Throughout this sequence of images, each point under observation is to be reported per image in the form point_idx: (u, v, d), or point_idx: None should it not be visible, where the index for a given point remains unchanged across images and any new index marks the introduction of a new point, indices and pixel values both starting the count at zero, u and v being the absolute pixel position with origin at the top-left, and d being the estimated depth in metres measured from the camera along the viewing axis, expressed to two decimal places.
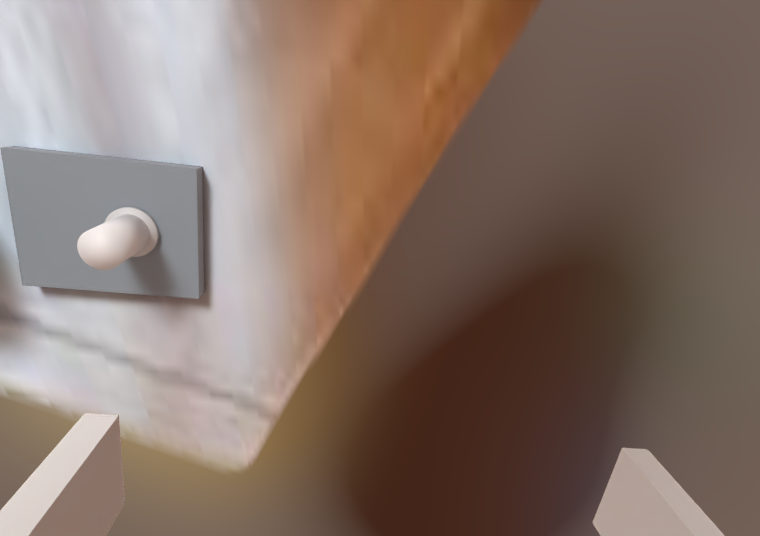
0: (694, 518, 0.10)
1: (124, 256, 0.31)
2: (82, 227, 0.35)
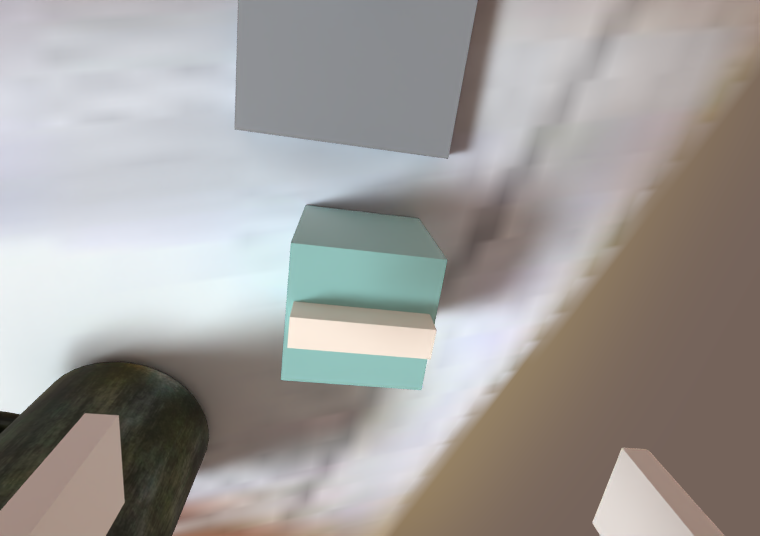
0: (694, 518, 0.10)
1: None
2: (358, 32, 0.21)
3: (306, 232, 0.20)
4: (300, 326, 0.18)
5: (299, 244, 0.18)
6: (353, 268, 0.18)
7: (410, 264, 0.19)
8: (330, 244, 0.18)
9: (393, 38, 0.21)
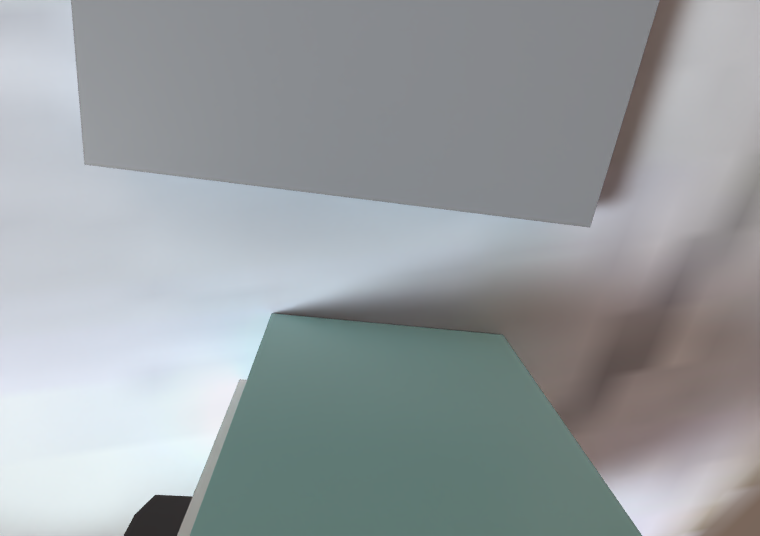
0: None
1: None
2: None
3: (243, 481, 0.07)
4: None
5: None
6: None
7: None
8: None
9: None
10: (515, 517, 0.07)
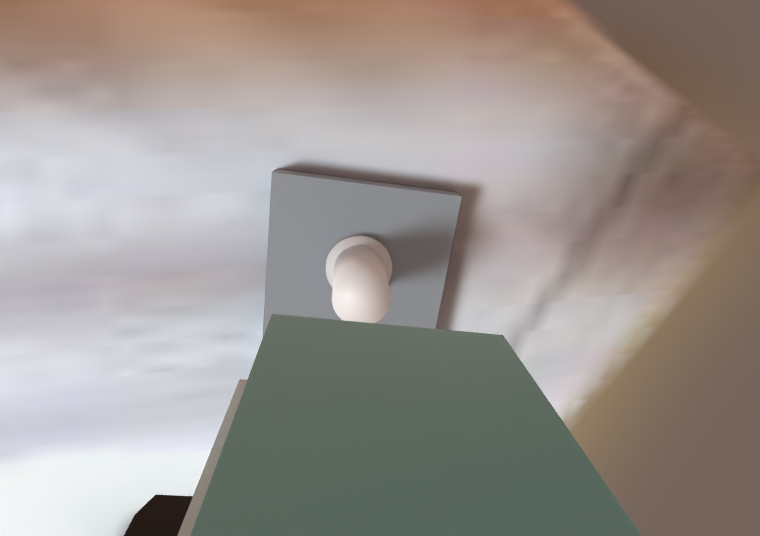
0: None
1: (374, 271, 0.22)
2: None
3: (244, 481, 0.07)
4: None
5: None
6: None
7: None
8: None
9: None
10: (515, 518, 0.07)
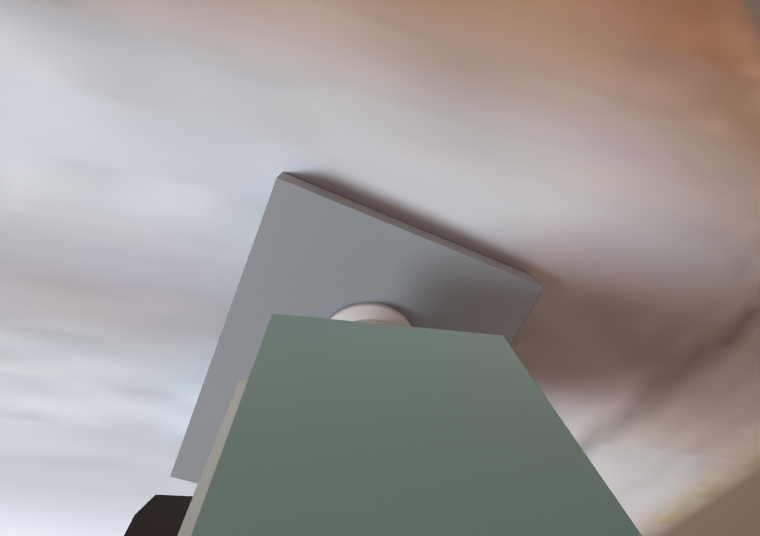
0: None
1: None
2: None
3: (244, 480, 0.07)
4: None
5: None
6: None
7: None
8: None
9: None
10: (516, 518, 0.07)
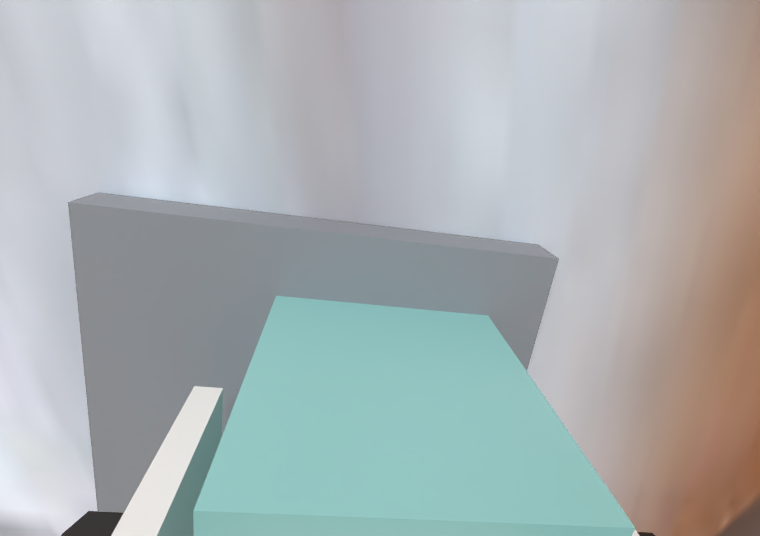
0: None
1: None
2: None
3: (254, 425, 0.08)
4: None
5: (219, 513, 0.06)
6: None
7: None
8: (311, 496, 0.07)
9: None
10: (487, 456, 0.08)
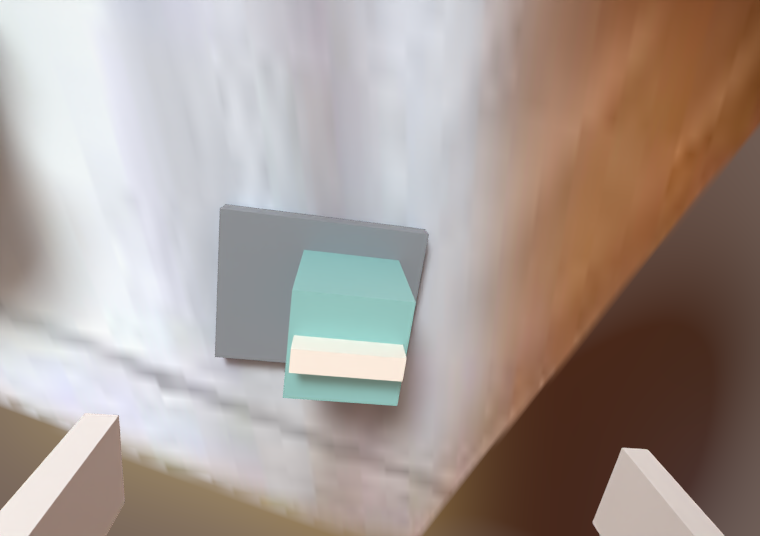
0: (694, 518, 0.10)
1: None
2: None
3: (304, 279, 0.24)
4: (299, 356, 0.22)
5: (298, 291, 0.23)
6: (341, 309, 0.23)
7: (386, 306, 0.23)
8: (323, 290, 0.23)
9: None
10: (378, 289, 0.25)
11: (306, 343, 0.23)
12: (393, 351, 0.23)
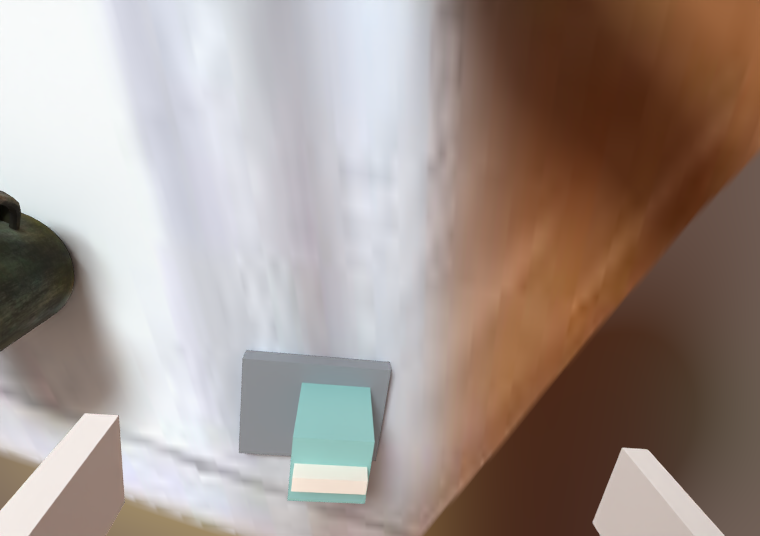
0: (694, 518, 0.10)
1: None
2: (294, 412, 0.43)
3: (301, 422, 0.37)
4: (297, 481, 0.35)
5: (297, 437, 0.35)
6: (325, 447, 0.35)
7: (355, 444, 0.36)
8: (313, 435, 0.35)
9: (293, 426, 0.44)
10: (350, 429, 0.37)
11: (302, 471, 0.35)
12: (359, 474, 0.36)
